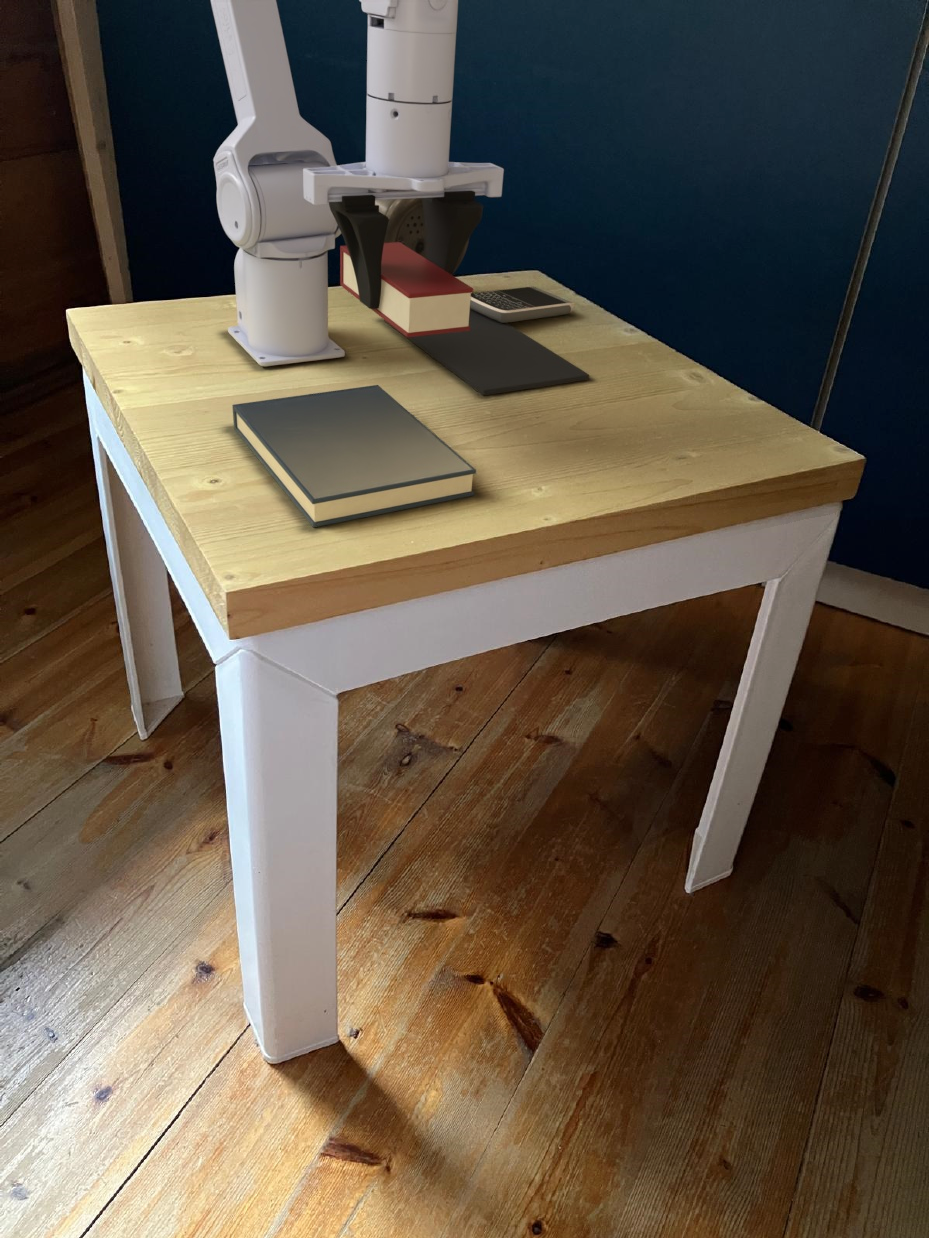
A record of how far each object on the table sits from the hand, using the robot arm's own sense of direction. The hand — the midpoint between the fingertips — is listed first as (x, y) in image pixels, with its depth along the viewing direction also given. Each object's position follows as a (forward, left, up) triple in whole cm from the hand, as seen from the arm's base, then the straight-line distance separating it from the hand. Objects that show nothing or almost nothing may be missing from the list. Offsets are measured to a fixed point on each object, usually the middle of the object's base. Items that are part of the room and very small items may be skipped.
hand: (402, 301), depth 73 cm
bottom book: (+6, -7, -9) cm, 13 cm away
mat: (-12, +14, -9) cm, 21 cm away
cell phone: (-19, +23, -9) cm, 32 cm away
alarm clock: (-27, +15, -10) cm, 33 cm away
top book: (0, 0, 0) cm, 0 cm away
